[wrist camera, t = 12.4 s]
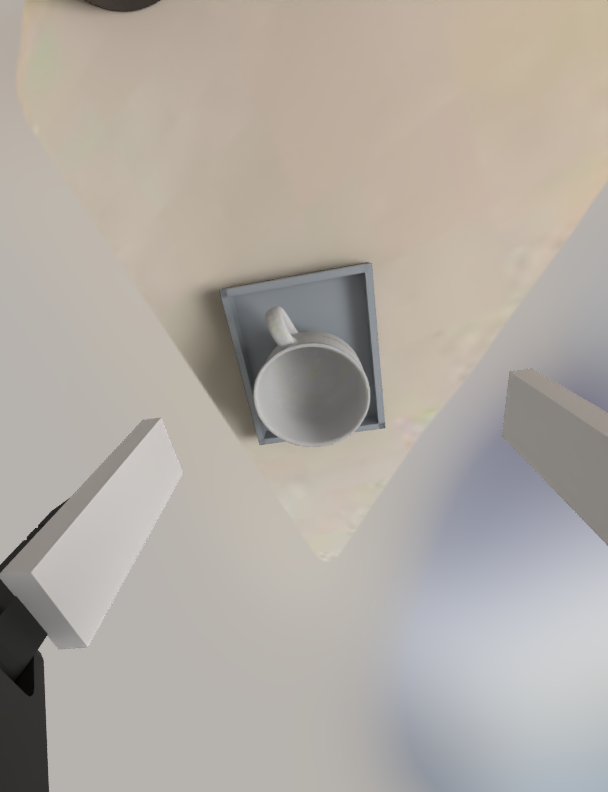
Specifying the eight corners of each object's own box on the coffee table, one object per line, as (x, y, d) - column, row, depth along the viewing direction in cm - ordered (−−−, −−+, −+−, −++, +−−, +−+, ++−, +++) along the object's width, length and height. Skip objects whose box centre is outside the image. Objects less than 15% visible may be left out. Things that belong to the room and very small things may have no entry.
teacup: (366, 402, 39) (379, 438, 31) (278, 421, 40) (270, 459, 33) (343, 282, 33) (352, 290, 26) (242, 308, 35) (223, 323, 27)
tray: (225, 288, 34) (219, 290, 32) (367, 262, 33) (371, 263, 31) (262, 434, 42) (259, 445, 39) (381, 418, 40) (385, 428, 38)
